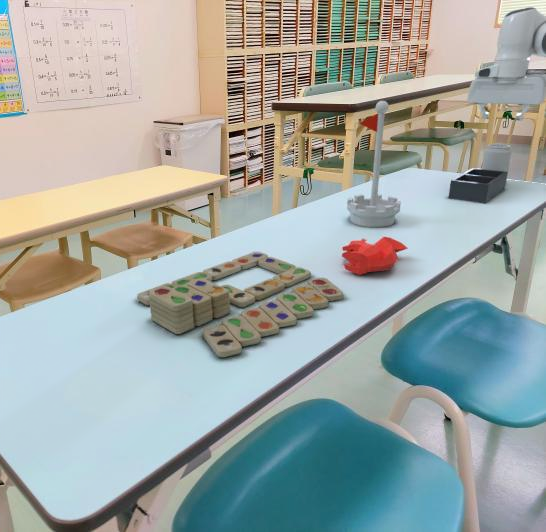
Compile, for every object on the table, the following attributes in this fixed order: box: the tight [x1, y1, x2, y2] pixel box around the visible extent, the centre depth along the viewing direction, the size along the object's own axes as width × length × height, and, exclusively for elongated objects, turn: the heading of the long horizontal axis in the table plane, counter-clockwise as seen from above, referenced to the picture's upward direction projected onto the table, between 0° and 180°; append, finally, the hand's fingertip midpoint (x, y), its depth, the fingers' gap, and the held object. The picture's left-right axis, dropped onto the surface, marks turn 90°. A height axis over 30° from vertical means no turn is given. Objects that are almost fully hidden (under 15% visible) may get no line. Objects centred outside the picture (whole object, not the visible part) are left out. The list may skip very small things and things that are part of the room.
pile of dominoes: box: [136, 251, 344, 358], centre depth 95 cm, size 35×27×6 cm
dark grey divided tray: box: [448, 167, 509, 204], centre depth 154 cm, size 10×19×5 cm, turn 138°
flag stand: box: [346, 100, 402, 228], centre depth 130 cm, size 13×13×30 cm
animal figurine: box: [341, 236, 409, 276], centre depth 108 cm, size 12×15×5 cm
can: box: [481, 143, 513, 173], centre depth 164 cm, size 8×8×12 cm
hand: (501, 119), depth 156 cm, fingers open, 8 cm apart
